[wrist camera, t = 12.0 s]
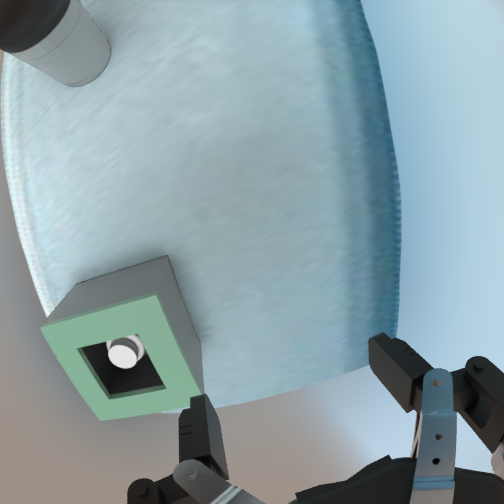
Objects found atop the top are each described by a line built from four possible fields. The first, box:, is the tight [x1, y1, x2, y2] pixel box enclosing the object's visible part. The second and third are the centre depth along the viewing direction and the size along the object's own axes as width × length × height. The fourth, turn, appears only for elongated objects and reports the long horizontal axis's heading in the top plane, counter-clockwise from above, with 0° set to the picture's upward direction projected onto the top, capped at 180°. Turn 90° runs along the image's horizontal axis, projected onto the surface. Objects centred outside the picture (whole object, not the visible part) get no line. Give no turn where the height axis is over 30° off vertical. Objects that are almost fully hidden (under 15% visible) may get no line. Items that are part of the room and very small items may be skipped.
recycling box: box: [40, 255, 205, 421], centre depth 38 cm, size 16×16×14 cm
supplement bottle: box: [106, 334, 145, 368], centre depth 39 cm, size 6×6×10 cm
